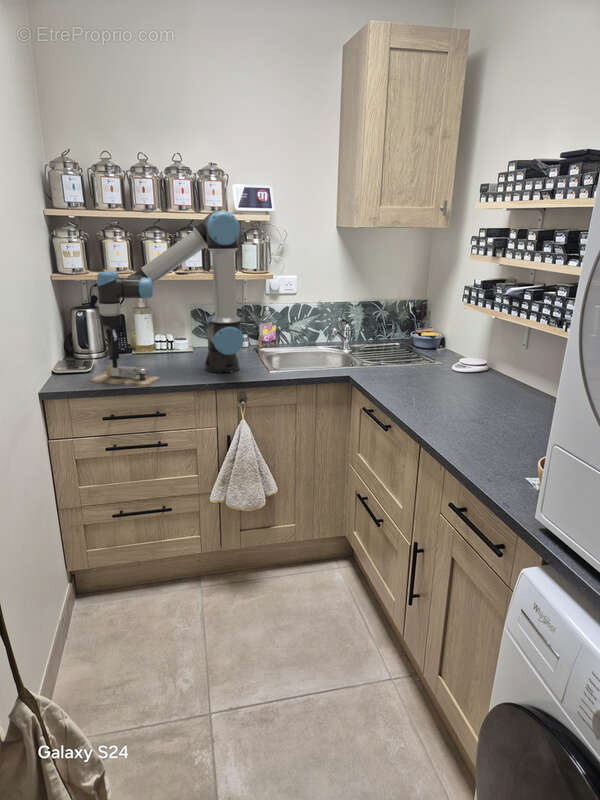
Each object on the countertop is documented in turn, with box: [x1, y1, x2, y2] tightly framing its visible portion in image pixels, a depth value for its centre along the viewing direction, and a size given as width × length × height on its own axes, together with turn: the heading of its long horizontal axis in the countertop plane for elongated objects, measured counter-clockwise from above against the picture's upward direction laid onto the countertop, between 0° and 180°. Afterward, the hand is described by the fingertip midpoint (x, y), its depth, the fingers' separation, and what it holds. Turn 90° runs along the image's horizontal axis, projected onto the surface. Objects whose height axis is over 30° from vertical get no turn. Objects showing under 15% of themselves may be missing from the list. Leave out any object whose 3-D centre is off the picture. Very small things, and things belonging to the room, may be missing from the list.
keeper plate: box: [89, 370, 131, 386], centre depth 214 cm, size 14×12×4 cm
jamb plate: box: [124, 373, 161, 388], centre depth 212 cm, size 10×10×4 cm
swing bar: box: [105, 364, 149, 378], centre depth 212 cm, size 16×4×4 cm, turn 82°
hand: (115, 375), depth 210 cm, fingers closed
